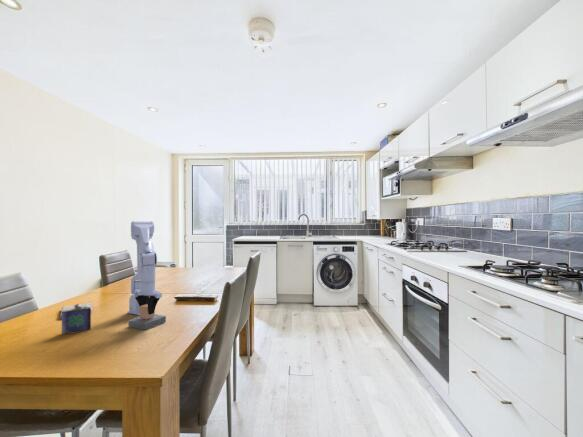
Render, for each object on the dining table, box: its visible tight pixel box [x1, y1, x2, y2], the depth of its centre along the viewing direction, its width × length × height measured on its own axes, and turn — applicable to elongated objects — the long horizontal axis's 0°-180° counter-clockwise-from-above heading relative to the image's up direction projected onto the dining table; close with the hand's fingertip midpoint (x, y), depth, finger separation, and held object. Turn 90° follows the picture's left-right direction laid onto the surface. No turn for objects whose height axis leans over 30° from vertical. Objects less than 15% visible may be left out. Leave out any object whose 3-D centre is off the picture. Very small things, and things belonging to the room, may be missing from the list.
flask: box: [61, 303, 92, 335], centre depth 111 cm, size 9×3×11 cm, turn 121°
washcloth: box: [59, 302, 93, 321], centre depth 134 cm, size 12×18×3 cm, turn 39°
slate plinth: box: [128, 313, 167, 331], centre depth 118 cm, size 10×10×3 cm
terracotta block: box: [139, 304, 155, 319], centre depth 118 cm, size 4×4×5 cm
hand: (147, 313), depth 118 cm, fingers closed on terracotta block, 4 cm apart
